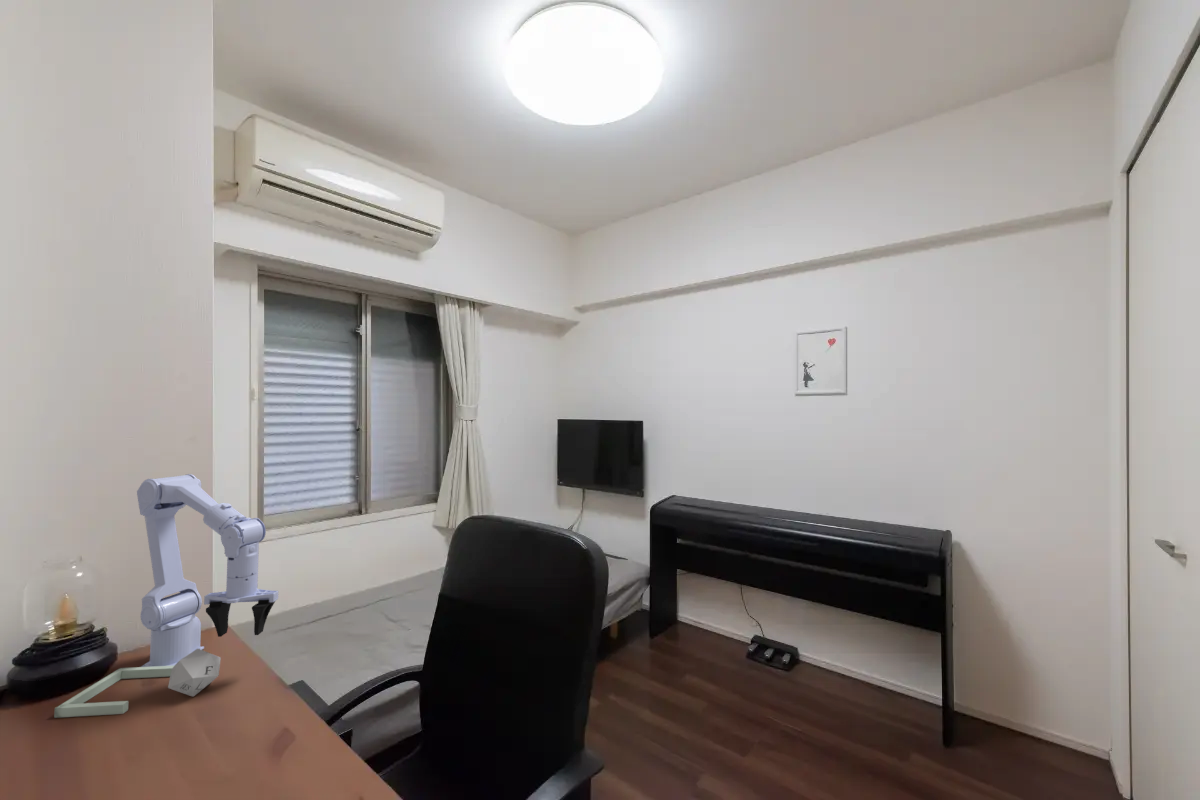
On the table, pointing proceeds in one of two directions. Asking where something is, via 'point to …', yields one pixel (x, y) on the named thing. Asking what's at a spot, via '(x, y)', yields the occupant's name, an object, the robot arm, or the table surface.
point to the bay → (80, 708)
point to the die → (194, 672)
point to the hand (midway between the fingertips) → (240, 633)
